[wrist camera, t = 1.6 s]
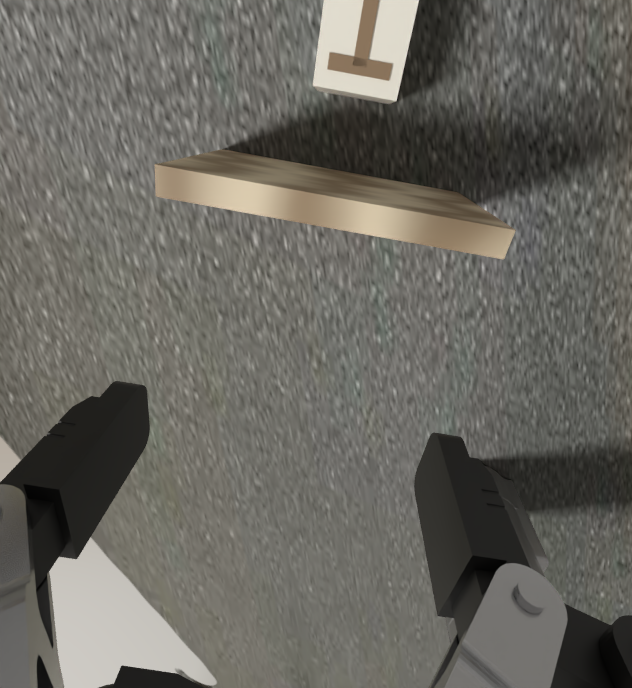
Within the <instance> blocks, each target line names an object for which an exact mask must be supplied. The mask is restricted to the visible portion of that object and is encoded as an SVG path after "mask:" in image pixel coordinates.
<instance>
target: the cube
mask: <svg viewBox="0 0 632 688" xmlns="http://www.w3.org/2000/svg"><path fill="white" fill-rule="evenodd" d="M418 2H419V0H324V4H323V12H322V20H321V27H320V35H319V42H318V50H317V58H316V65H315V73H314V80H313V86H314V87H315V88H316V89H317V90H318V91H320V92H326V93H331V94H337V95H342V96H347V97H353V98H358V99H363V100H369V101H374V102H380V103H385V104H391V103H393V102H396V101H397V97H398V92H399V88H400V83H401V79H402V74H403V70H404V65H405V61H406V56H407V52H408V47H409V43H410V38H411V34H412V29H413V25H414V20H415V16H416V11H417V7H418Z"/></svg>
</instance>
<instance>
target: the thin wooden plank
mask: <svg viewBox="0 0 632 688" xmlns="http://www.w3.org/2000/svg"><path fill="white" fill-rule="evenodd" d="M155 185H156V196H157V197H162V198H168V199H173V200H179V201H184V202H190V203H195V204H201V205H206V206H212V207H217V208H223V209H228V210H234V211H239V212H245V213H250V214H256V215H262V216H267V217H273V218H278V219H284V220H289V221H295V222H300V223H306V224H311V225H317V226H322V227H328V228H333V229H339V230H344V231H350V232H355V233H361V234H366V235H372V236H378V237H383V238H389V239H394V240H400V241H405V242H411V243H416V244H422V245H427V246H433V247H438V248H444V249H449V250H455V251H460V252H466V253H471V254H477V255H483V256H488V257H494V258H499V259H504V258H505V255H506V253H507V250H508V248H509V245H510V243H511V240H512V238H513V235H514V233H515V231H516V230H515V229H513V228H512V227H510V226H509V225H507V224H505V223H504V222H502V221H501V220H499V219H498V218H496V217H495V216H493V215H492V214H490V213H489V212H487V211H486V210H484V209H483V208H481V207H480V206H478V205H477V204H475V203H473V202H472V201H470V200H469V199H467V198H466V197H464V196H463V195H461V194H460V193H458V192H453V191H448V190H443V189H437V188H432V187H426V186H421V185H415V184H410V183H404V182H399V181H393V180H388V179H382V178H377V177H372V176H366V175H361V174H355V173H350V172H344V171H339V170H333V169H328V168H322V167H317V166H312V165H306V164H301V163H295V162H290V161H284V160H279V159H273V158H268V157H262V156H257V155H251V154H246V153H241V152H235V151H230V150H224V149H222V150H217V151H213V152H208V153H204V154H199V155H195V156H190V157H186V158H181V159H177V160H172V161H168V162H163V163H159V164H155Z"/></svg>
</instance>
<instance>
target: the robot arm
mask: <svg viewBox="0 0 632 688" xmlns="http://www.w3.org/2000/svg"><path fill="white" fill-rule="evenodd" d="M149 430H150V425H149V412H148V399H147V390H146V387H145V386H144V385H139V384H132V383H126V382H120V381H115V382H113V383H112V384H111V385H110V386H109V387H108V388H107V390H106V391H105V392H104V393H103V394H102V395H101V396H100V398H99V397H93V396H91V397H89V398H87V399H86V400H84V401H82V402H80V403H79V404H77V405H75V406H73V407H72V408H71V409H70V410H69V411H68V412H67V413H66V414H65V415H64V416H63V417H62V418H61V419H60V420H59V423H58V424H56V425H55V426H54V427H53V428H52V429H51V430H50V431H49V432H48V433H47V436H44V437H43V438H42V439H41V440H40V441H39V442H38V443H37V445H36V446H35V447H34V448H33V449H32V450H31V451H30V452H29V453H28V454H27V455H26V456H25V457H24V458H23V459H22V460H21V461H20V462H19V463H18V465H16V467H15V468H14V469H13V470H12V471H11V472H10V473H9V474H8V475H7V476H6V477H5V478H4V479H3V480H2V481H1V482H0V688H64V684H63V678H62V673H61V669H60V664H59V658H58V650H57V640H56V631H55V621H54V611H53V601H52V592H51V582H50V575H49V571H50V569H51V568H52V566H53V565H54V563H55V561H56V560H57V558H58V557H66V558H72V559H77V558H78V556H79V555H80V553H81V552H82V550H83V548H84V546H85V545H86V543H87V541H88V540H89V538H90V537H91V535H92V534H93V532H94V530H95V529H96V527H97V525H98V524H99V522H100V520H101V519H102V517H103V516H104V514H105V512H106V511H107V509H108V507H109V506H110V504H111V502H112V501H113V499H114V498H115V496H116V494H117V493H118V491H119V489H120V488H121V486H122V485H123V483H124V481H125V480H126V478H127V476H128V475H129V473H130V471H131V470H132V468H133V467H134V465H135V463H136V462H137V460H138V458H139V457H140V455H141V453H142V452H143V450H144V448H145V446H146V444H147V441H148V437H149ZM414 488H415V497H416V502H417V507H418V513H419V518H420V524H421V529H422V534H423V540H424V545H425V551H426V556H427V561H428V567H429V572H430V578H431V583H432V588H433V594H434V599H435V604H436V610H437V615H438V616H442V617H445V620H446V625H447V630H448V635H449V640H450V646H449V648H448V650H447V652H446V654H445V656H444V658H443V660H442V662H441V664H440V666H439V668H438V670H437V672H436V674H435V676H434V678H433V680H432V682H431V684H430V686H429V688H632V616H629V615H628V616H622V617H619V618H618V619H617V620H616V621H615V622H614V623H613V624H612V625H609V624H606V623H604V622H602V621H600V620H598V619H596V618H594V617H591V616H589V615H587V614H585V613H583V612H581V611H578V610H576V609H574V608H572V607H570V606H568V605H566V604H565V603H564V602H563V600H562V598H561V596H560V595H559V593H558V592H557V590H556V589H555V588H554V587H553V585H552V584H551V583H550V582H549V581H548V580H547V579H546V578H545V576H544V574H543V572H544V571H545V570H546V568H547V567H548V564H549V563H548V559H547V556H546V554H545V552H544V550H543V548H542V545H541V543H540V541H539V539H538V537H537V534H536V532H535V530H534V528H533V525H532V523H531V521H530V519H529V517H528V514H527V512H526V510H525V508H524V506H523V503H522V501H521V499H520V497H519V495H518V492H517V490H516V488H515V486H514V483H513V481H512V480H508V479H504V478H502V477H501V476H500V475H499V474H498V473H497V472H496V471H495V470H493V469H491V468H489V467H487V466H484V465H483V463H482V462H481V461H480V460H479V459H477V458H470V457H469V454H468V452H467V449H466V446H465V444H464V441H463V439H462V438H461V437H458V436H452V435H446V434H439V433H432V434H431V436H430V438H429V440H428V443H427V445H426V448H425V450H424V453H423V456H422V458H421V461H420V463H419V466H418V468H417V471H416V475H415V485H414ZM99 688H203V687H201V686H200V685H198V684H196V683H194V682H192V681H190V680H188V679H186V678H184V677H182V676H181V675H179V674H175V673H169V672H162V671H155V670H148V669H141V668H135V667H128V666H121V668H120V671H119V673H118V676H117V678H116V680H115V683H114V684H110V685H105V686H102V687H99Z"/></svg>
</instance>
